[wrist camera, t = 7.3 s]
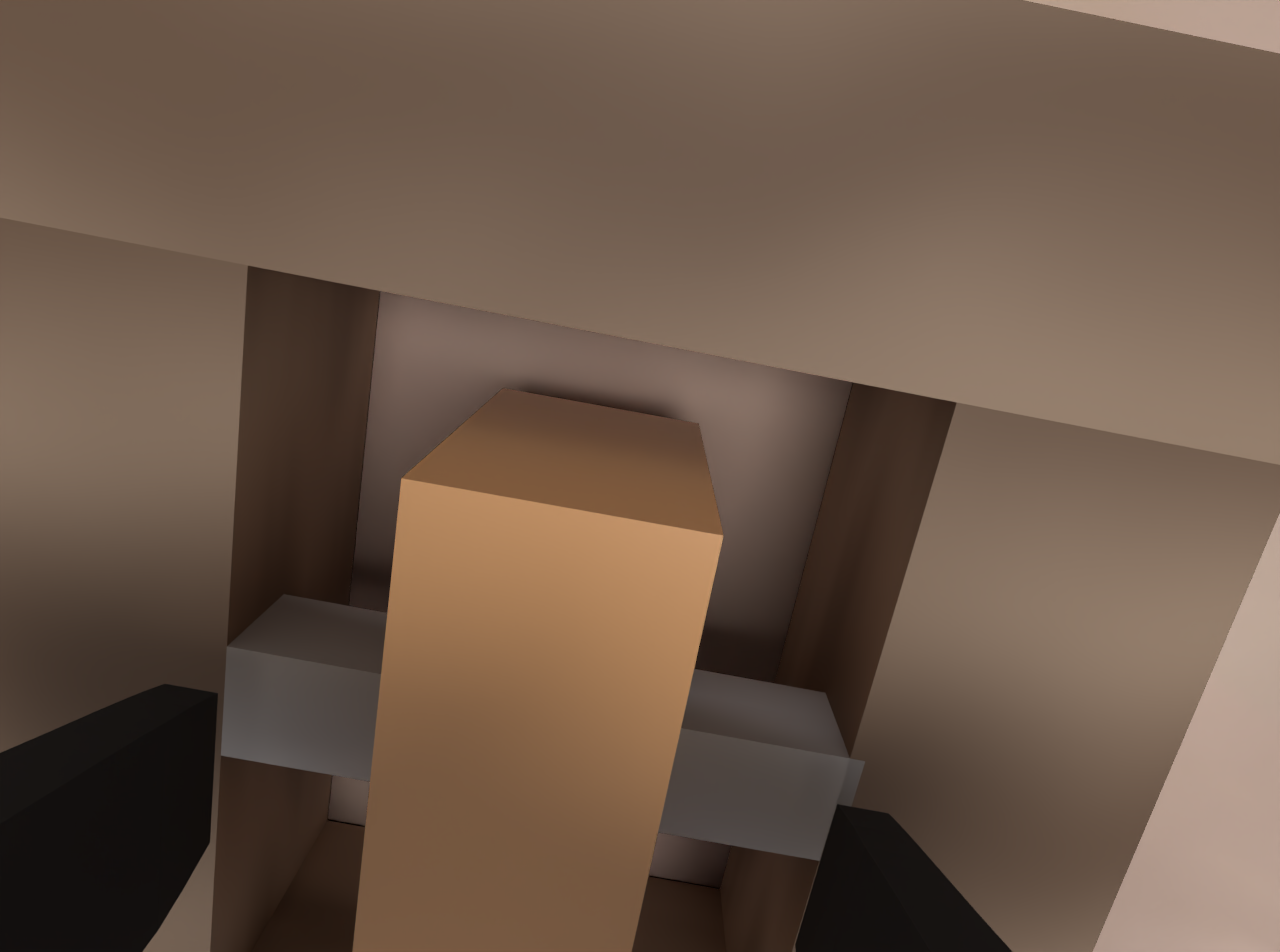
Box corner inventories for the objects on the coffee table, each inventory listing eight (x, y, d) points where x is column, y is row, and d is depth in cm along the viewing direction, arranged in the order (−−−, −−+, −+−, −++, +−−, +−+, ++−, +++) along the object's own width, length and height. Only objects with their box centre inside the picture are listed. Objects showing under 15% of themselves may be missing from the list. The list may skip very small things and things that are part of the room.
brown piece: (861, 1069, 18) (927, 1338, 13) (123, 944, 17) (-58, 1180, 13) (1182, 145, 12) (1459, 90, 8) (142, -66, 12) (-148, -243, 8)
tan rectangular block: (610, 856, 14) (586, 1159, 10) (443, 828, 14) (334, 1119, 10) (698, 423, 12) (723, 535, 7) (502, 388, 12) (401, 478, 7)
